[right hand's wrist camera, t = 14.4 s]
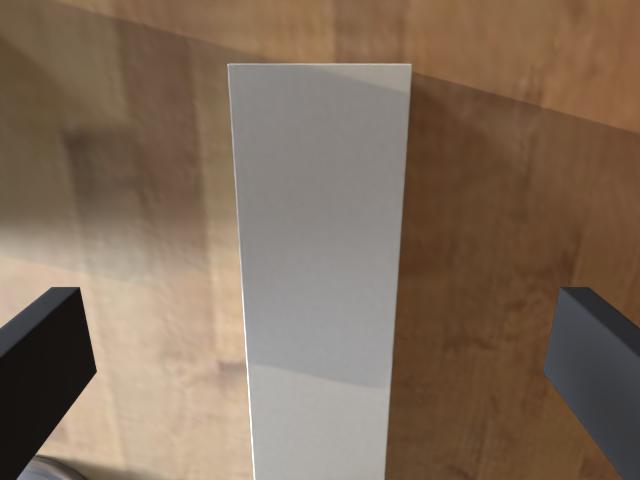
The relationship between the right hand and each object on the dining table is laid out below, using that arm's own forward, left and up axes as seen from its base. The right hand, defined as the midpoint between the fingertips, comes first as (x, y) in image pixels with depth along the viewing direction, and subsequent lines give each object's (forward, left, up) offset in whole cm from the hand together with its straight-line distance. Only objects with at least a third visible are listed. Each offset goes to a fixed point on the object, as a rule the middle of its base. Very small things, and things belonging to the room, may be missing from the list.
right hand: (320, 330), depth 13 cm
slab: (+7, -22, -22) cm, 32 cm away
